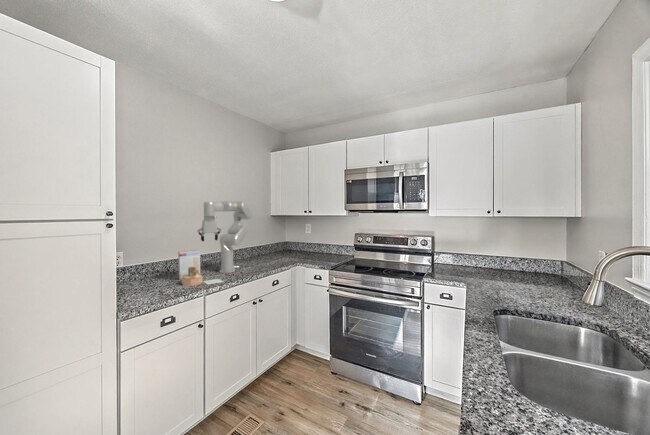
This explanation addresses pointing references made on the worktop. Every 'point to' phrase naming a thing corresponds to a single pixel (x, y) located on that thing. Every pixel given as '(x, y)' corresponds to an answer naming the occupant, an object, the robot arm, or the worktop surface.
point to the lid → (192, 273)
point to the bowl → (191, 281)
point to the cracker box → (188, 261)
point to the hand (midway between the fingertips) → (209, 240)
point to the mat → (213, 281)
